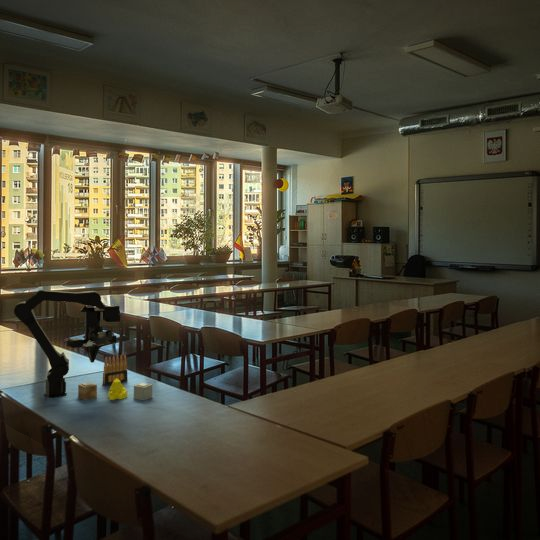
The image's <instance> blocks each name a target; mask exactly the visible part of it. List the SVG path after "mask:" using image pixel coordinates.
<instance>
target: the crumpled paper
mask: <svg viewBox="0 0 540 540" xmlns="http://www.w3.org/2000/svg"><path fill="white" fill-rule="evenodd" d="M108 390H109V391H108V393H107V394H108V396H107V397H108V398H109V400H110V401H114V400H117V399H118V400H123V399H125V398H127V397H128V390H127V389H126V387H124V385H123V383H121V381H120V380H118V379H117V378H116V379H115V380H114V381H113V383H112V385H110V386H109V389H108Z"/></svg>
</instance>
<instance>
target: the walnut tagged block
mask: <svg viewBox="0 0 540 540" xmlns="http://www.w3.org/2000/svg"><path fill="white" fill-rule="evenodd" d="M77 389H78V390H77V391H78V393H77V398H79V399H80V400H84V401H88V400H92V399H97V398H98V385H97V384H95V383H93V382H85V383H79V384H78V386H77Z"/></svg>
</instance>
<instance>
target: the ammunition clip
mask: <svg viewBox="0 0 540 540" xmlns="http://www.w3.org/2000/svg"><path fill="white" fill-rule="evenodd" d="M127 364H128V362H127V355H126V353H125V354H124V355H122V354H120V357H119V355H118V354H117V355H116V357H115V355H112V357H111V355H109V357H107V356H105V358H104V364H103V374H102V383H101V384H102V386H105V387H106V386H111V385H112V383H113V381H114V380H115V379H116V378H117V379H118V380H120V381H121V384H123V383H127V382H128V365H127Z"/></svg>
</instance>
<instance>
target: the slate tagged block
mask: <svg viewBox="0 0 540 540" xmlns="http://www.w3.org/2000/svg"><path fill="white" fill-rule="evenodd" d="M150 398H153V384H152V383H146V382H140V383H138V384H135V385H133V399H135V400H140V401H146V400H149V399H150Z"/></svg>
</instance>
